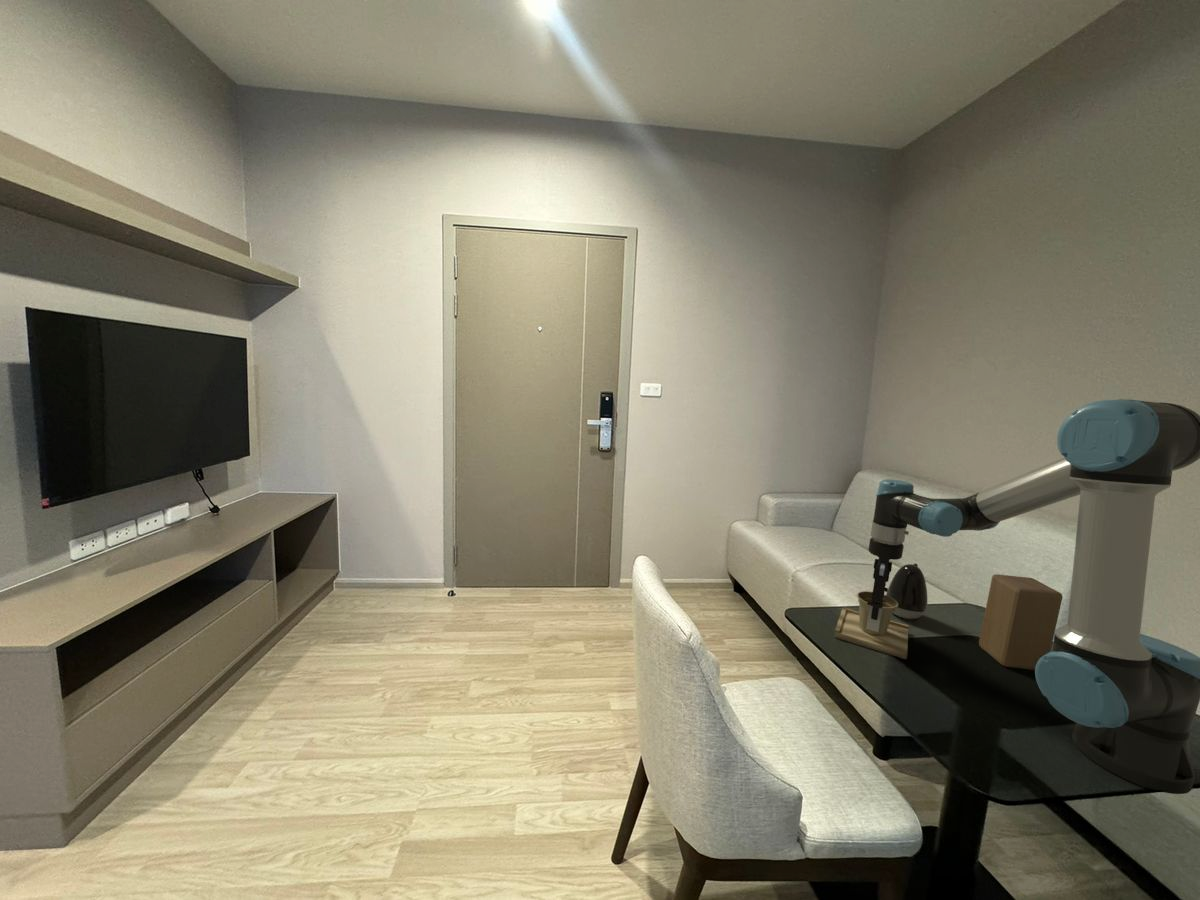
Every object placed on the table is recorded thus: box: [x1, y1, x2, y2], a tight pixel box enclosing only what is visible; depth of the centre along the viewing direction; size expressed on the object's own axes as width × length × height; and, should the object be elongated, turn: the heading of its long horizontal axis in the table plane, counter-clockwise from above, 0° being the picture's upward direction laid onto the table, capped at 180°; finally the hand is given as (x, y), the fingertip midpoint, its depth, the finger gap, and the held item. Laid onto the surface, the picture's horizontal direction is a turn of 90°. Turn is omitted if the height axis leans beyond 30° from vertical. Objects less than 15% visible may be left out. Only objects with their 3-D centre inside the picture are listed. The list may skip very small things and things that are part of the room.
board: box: [833, 606, 909, 660], centre depth 131 cm, size 16×16×2 cm
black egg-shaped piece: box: [885, 563, 928, 620], centre depth 143 cm, size 10×10×15 cm
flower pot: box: [856, 590, 898, 636], centre depth 130 cm, size 9×9×9 cm
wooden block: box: [978, 573, 1063, 671], centre depth 122 cm, size 10×10×20 cm
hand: (873, 621), depth 130 cm, fingers open, 10 cm apart
